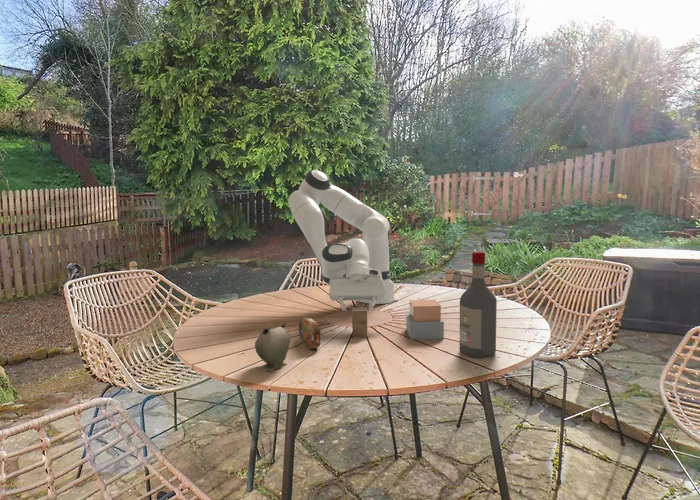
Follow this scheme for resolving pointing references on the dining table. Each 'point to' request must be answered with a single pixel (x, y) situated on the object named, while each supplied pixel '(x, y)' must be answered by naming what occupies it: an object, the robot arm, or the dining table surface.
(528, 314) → the dining table surface
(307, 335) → the tin
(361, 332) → the walnut block
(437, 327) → the tower base
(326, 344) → the dining table surface
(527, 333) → the dining table surface
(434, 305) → the tower top
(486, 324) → the liquor
